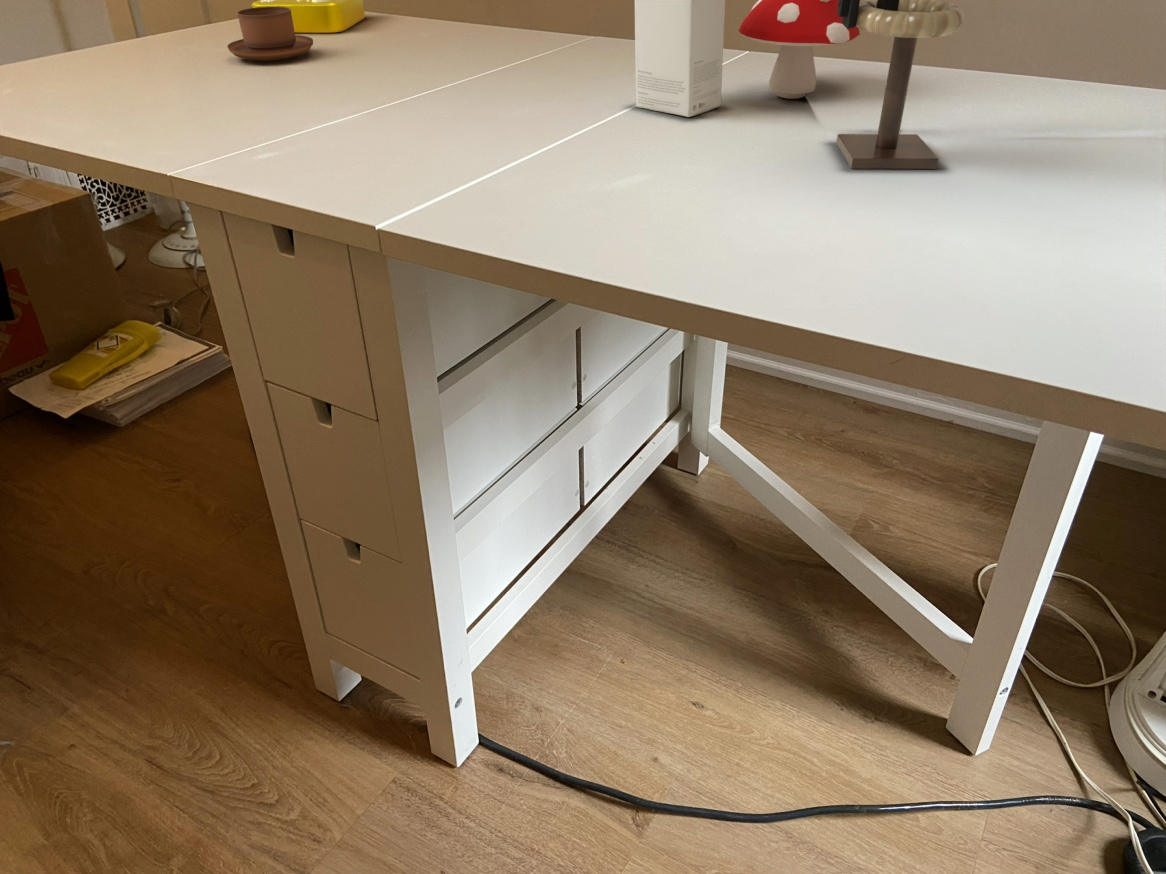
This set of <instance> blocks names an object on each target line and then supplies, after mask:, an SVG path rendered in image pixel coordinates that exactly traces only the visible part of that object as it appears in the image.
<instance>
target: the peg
mask: <svg viewBox="0 0 1166 874" xmlns="http://www.w3.org/2000/svg"><path fill="white" fill-rule="evenodd" d="M893 37H894V36H893ZM917 41H918V38H902V37H894V39H893V44H892V49H891V54H890V61H889V65H888V72H887V78H886V84H885V89H884V90H885V91H884V94H883V100H882V106H881V111H880V118H879V124H878V128H877V133H838V134H837V135H836V146H837V147H838V149H839V151H840V153H841V154H842V156H843V157H844V159H845V161H846V162H847V164H848V166H849V167H850V170H851V169H852V170H855V169H857V170H870V169H871V170H937V168H938V163H939V158H938V156H937V155H936V154H935V153H934V151H932V150H931V148H930V147H929V146H928V145H927V144H926V143H925V142H924V140H923V139H922V138H921V137H920V136H919V135H918V134H917V133H901V132H900V131H901V127H902V123H903V116H904V111H905V106H906V100H907V94H908V91H909V84H910V78H911V73H912V68H913V65H914V64H913V63H914V58H915V52H916V47H917V43H918V42H917Z"/></svg>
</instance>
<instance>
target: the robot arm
mask: <svg viewBox="0 0 1166 874" xmlns="http://www.w3.org/2000/svg"><path fill="white" fill-rule="evenodd" d="M899 1H900V0H877V5H876V8H879V9H884V10H890V11H898V6H899ZM860 3H861V0H839V2H838V9H837V16H838V17H842V24H843V25H844V26H845V27H846V28H847V29H853V28H854V27H856V23H857V17H858V10H859V4H860Z"/></svg>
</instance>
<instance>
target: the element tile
mask: <svg viewBox="0 0 1166 874" xmlns="http://www.w3.org/2000/svg"><path fill="white" fill-rule="evenodd" d="M256 7H287V8H290V9H291V14H292V20H293V26H294V31H295V34H334V33H342V32H345V31H347V30H348V29H349V28H350V29H351V28H352V27H353V26H355V25H357V24H358V23H360V22H361V21H363V20H364V19H365V18H366V13H365V12H366V11H365V5H364V0H256V1H253V2H252V3H251V8H256Z"/></svg>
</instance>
